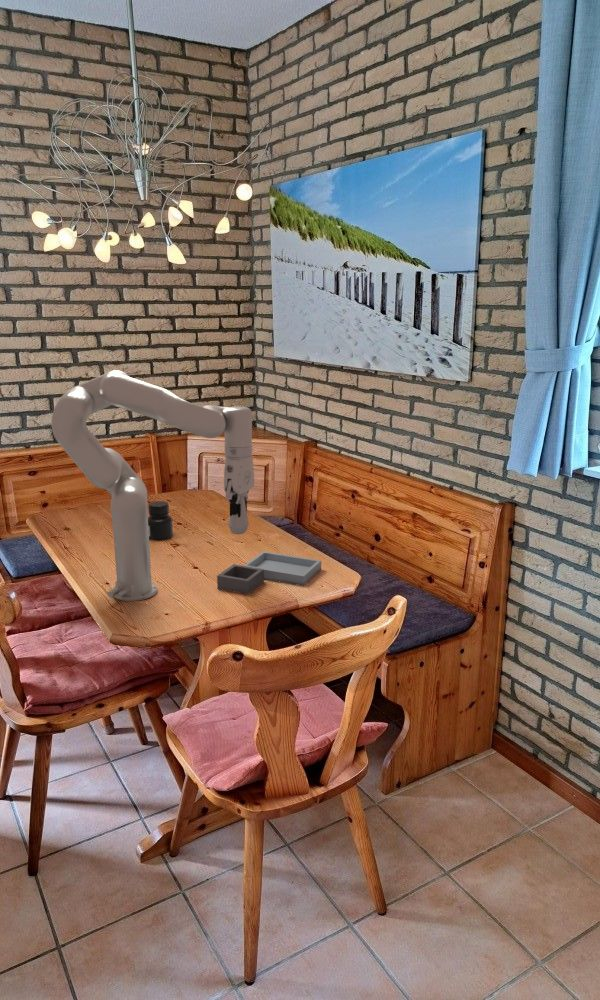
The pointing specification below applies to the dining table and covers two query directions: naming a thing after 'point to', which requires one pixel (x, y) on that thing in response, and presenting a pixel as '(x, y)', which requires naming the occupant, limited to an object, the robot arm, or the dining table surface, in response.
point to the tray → (286, 567)
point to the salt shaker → (239, 523)
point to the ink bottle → (159, 521)
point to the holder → (240, 579)
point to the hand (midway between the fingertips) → (238, 514)
